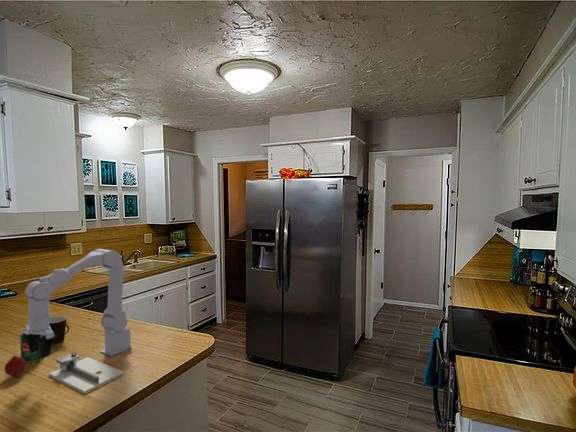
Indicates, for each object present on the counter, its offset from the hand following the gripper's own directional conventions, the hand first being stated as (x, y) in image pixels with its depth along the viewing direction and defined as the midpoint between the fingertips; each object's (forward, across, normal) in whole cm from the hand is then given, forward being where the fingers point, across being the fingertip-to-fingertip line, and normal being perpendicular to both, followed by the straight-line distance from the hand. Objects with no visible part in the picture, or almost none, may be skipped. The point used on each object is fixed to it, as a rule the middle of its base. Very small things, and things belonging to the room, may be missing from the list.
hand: (39, 353), depth 114 cm
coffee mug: (+10, -28, +20) cm, 36 cm away
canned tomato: (+10, -21, +8) cm, 25 cm away
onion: (+10, -11, -3) cm, 16 cm away
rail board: (+10, +10, +10) cm, 17 cm away
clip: (+9, +2, +8) cm, 12 cm away
